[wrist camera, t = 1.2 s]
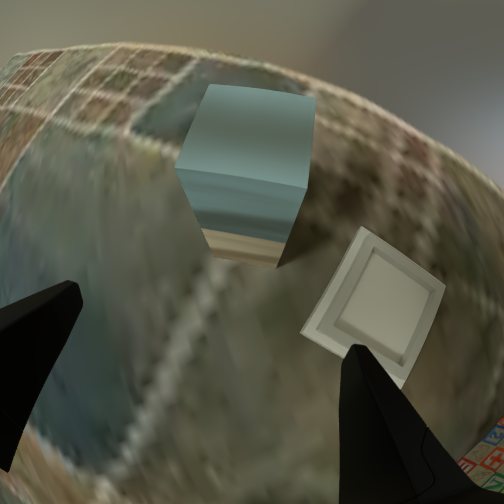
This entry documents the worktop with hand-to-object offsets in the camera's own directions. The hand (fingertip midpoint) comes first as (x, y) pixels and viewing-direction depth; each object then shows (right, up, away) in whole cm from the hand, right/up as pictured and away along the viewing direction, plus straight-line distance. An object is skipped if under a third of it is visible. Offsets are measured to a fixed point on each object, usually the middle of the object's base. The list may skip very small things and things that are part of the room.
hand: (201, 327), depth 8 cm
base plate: (+12, -3, +13) cm, 18 cm away
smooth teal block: (+1, +4, +15) cm, 16 cm away
